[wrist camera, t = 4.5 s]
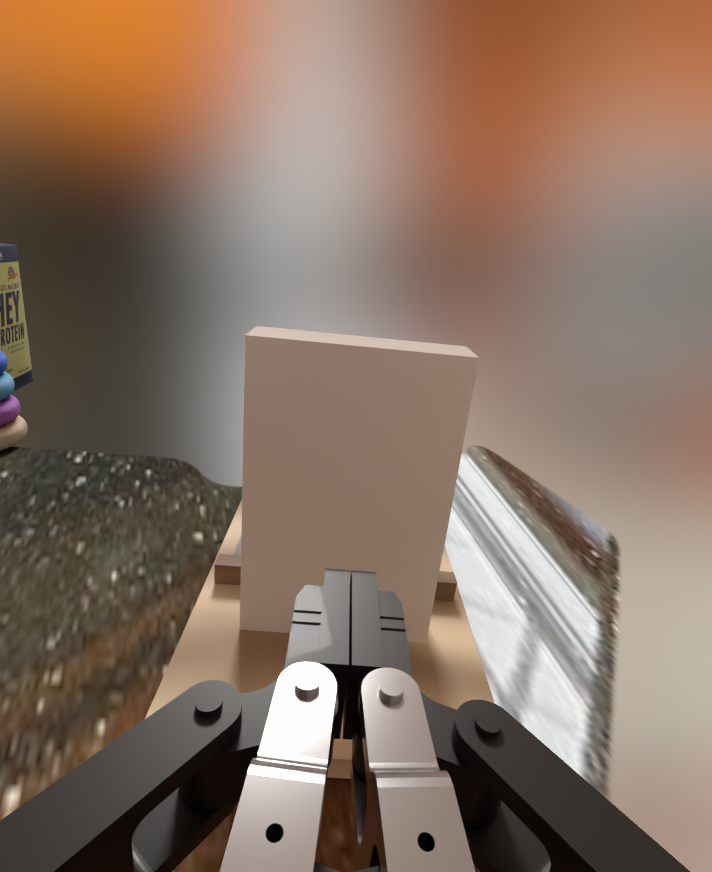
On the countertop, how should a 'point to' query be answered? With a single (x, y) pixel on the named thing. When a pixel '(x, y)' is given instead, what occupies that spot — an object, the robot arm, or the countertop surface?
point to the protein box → (13, 319)
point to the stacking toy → (9, 410)
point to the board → (266, 651)
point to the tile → (348, 466)
